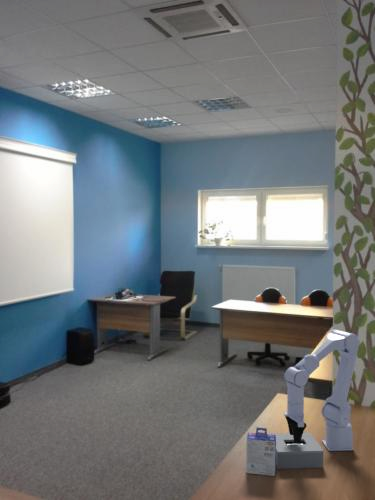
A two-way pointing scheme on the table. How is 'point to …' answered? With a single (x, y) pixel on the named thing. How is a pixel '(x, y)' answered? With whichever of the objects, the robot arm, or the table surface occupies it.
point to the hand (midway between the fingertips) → (295, 438)
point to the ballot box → (298, 452)
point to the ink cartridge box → (261, 453)
